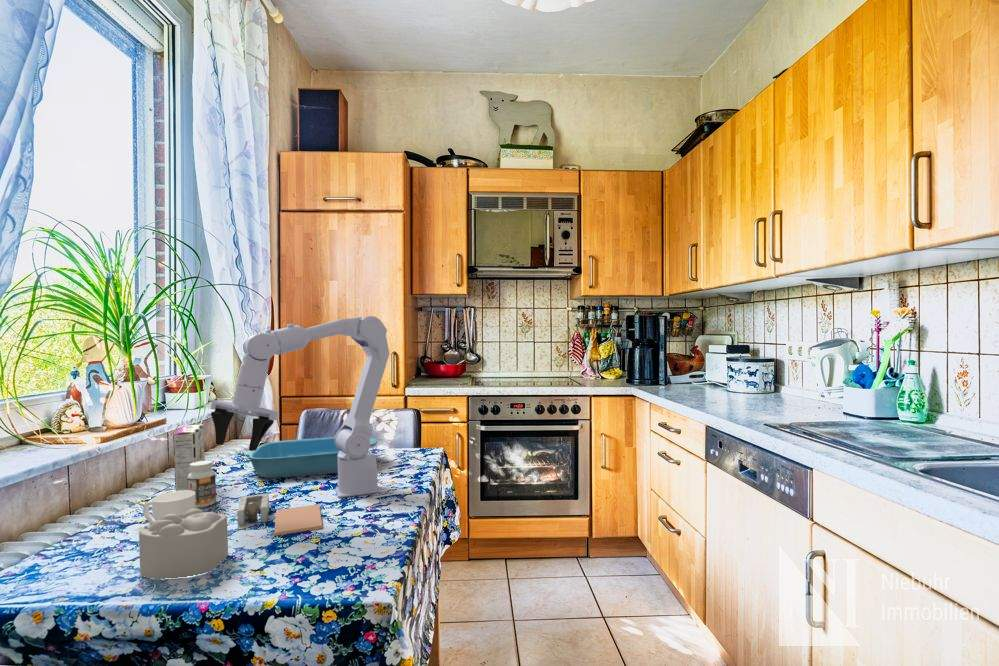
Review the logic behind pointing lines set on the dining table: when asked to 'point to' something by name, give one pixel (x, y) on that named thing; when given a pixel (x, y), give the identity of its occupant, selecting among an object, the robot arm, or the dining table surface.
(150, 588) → the dining table surface
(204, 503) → the pill bottle
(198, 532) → the lumpy-topped squat cylinder
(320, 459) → the casserole dish
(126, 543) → the dining table surface
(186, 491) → the cup
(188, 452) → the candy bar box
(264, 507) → the link
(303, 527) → the trivet
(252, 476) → the dining table surface
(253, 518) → the stand
